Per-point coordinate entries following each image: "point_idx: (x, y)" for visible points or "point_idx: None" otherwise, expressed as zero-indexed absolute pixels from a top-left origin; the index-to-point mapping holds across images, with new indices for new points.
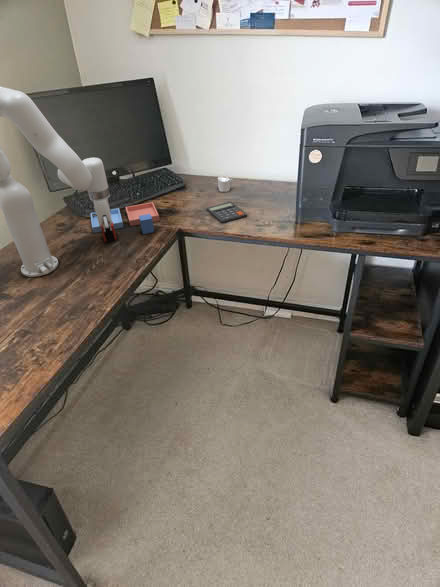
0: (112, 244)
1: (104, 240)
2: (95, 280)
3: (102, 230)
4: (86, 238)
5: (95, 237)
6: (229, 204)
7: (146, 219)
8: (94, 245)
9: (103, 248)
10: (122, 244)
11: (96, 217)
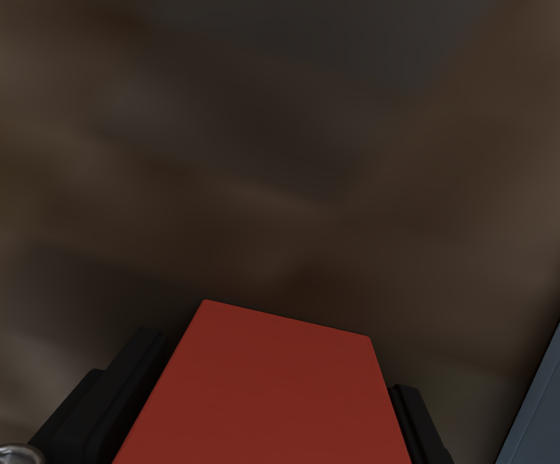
0: (73, 354)
1: (202, 306)
2: None
3: (129, 442)
4: (501, 85)
5: (426, 224)
6: None
7: None
8: (177, 134)
9: (19, 222)
10: None
11: None
